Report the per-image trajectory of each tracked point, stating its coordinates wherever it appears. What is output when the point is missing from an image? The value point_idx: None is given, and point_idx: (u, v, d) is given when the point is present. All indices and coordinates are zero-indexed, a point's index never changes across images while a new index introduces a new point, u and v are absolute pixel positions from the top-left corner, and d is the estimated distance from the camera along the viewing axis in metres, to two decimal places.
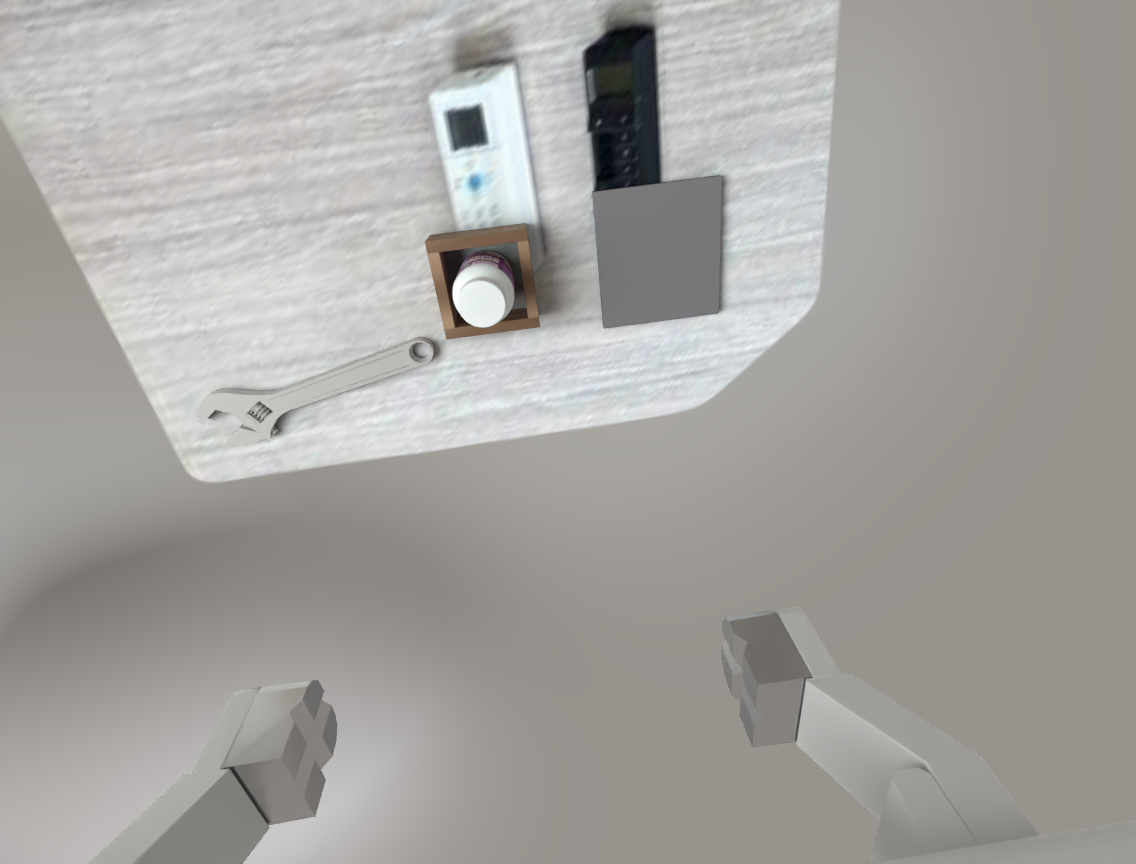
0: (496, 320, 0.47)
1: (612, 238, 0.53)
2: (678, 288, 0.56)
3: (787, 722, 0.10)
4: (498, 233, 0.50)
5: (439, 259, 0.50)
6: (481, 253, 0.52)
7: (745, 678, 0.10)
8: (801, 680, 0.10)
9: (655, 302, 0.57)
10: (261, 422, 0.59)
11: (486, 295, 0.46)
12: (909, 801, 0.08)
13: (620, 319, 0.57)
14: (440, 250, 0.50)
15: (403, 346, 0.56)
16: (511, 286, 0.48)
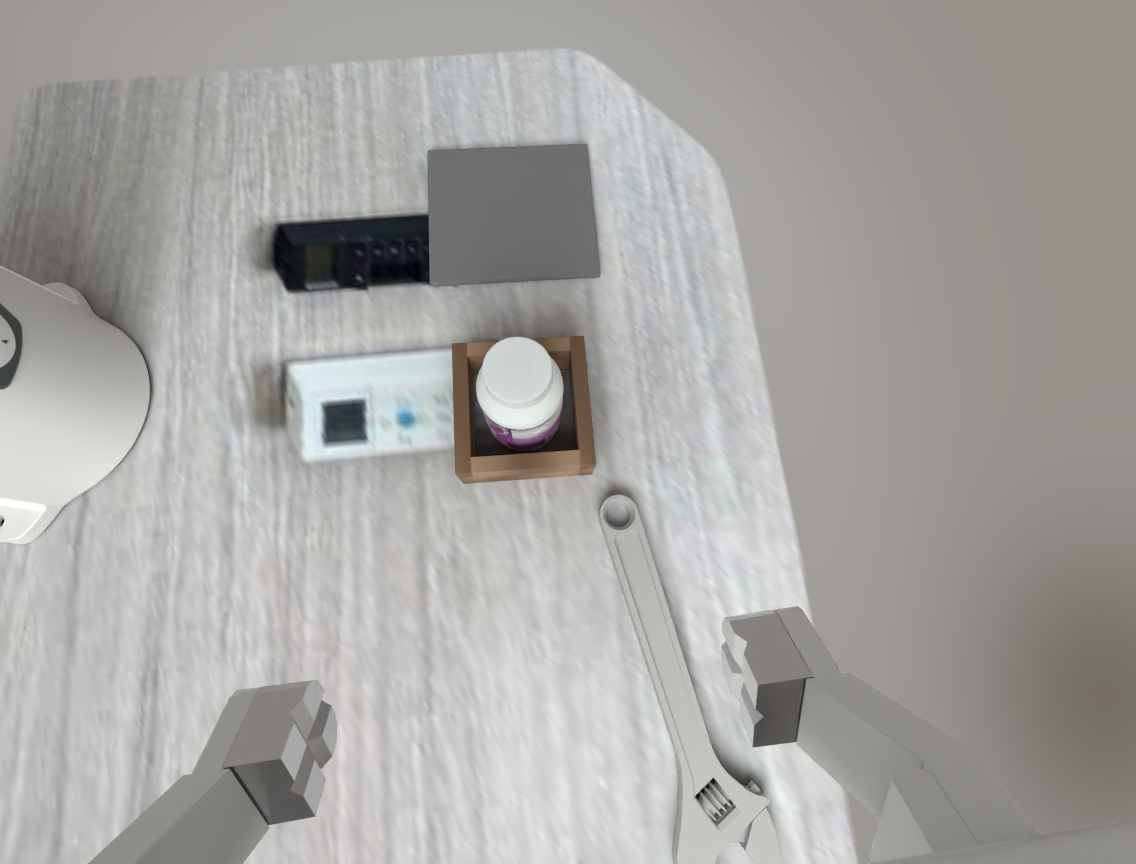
0: (541, 351, 0.32)
1: (485, 261, 0.43)
2: (552, 188, 0.45)
3: (787, 722, 0.10)
4: (454, 378, 0.37)
5: (480, 458, 0.36)
6: None
7: (745, 677, 0.10)
8: (801, 680, 0.10)
9: (568, 213, 0.45)
10: (735, 805, 0.34)
11: (503, 360, 0.31)
12: (909, 801, 0.08)
13: (588, 253, 0.44)
14: (468, 454, 0.36)
15: (608, 536, 0.38)
16: None
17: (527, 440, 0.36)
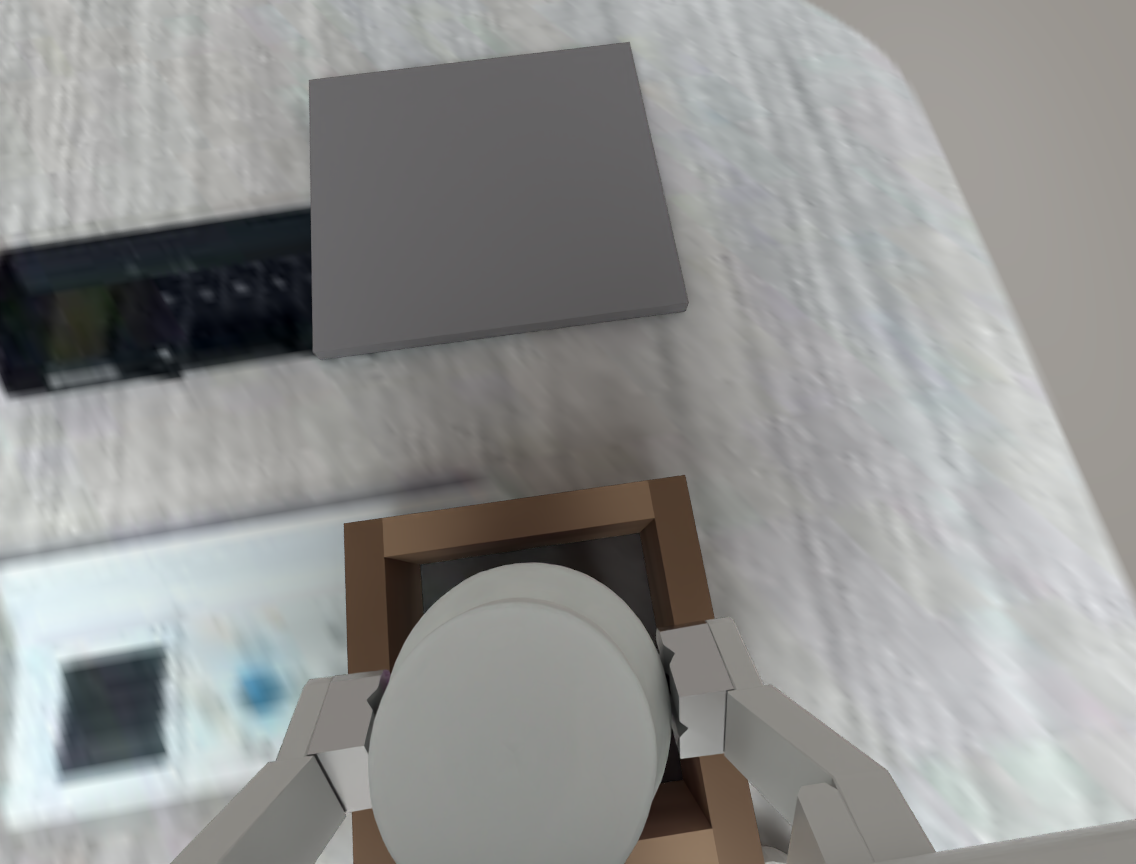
0: (605, 662, 0.08)
1: (434, 297, 0.20)
2: (568, 133, 0.22)
3: (712, 734, 0.10)
4: (350, 624, 0.14)
5: None
6: None
7: (671, 689, 0.10)
8: (723, 692, 0.09)
9: (606, 180, 0.21)
10: None
11: (455, 720, 0.08)
12: (811, 817, 0.08)
13: (657, 262, 0.20)
14: None
15: None
16: (483, 574, 0.11)
17: None
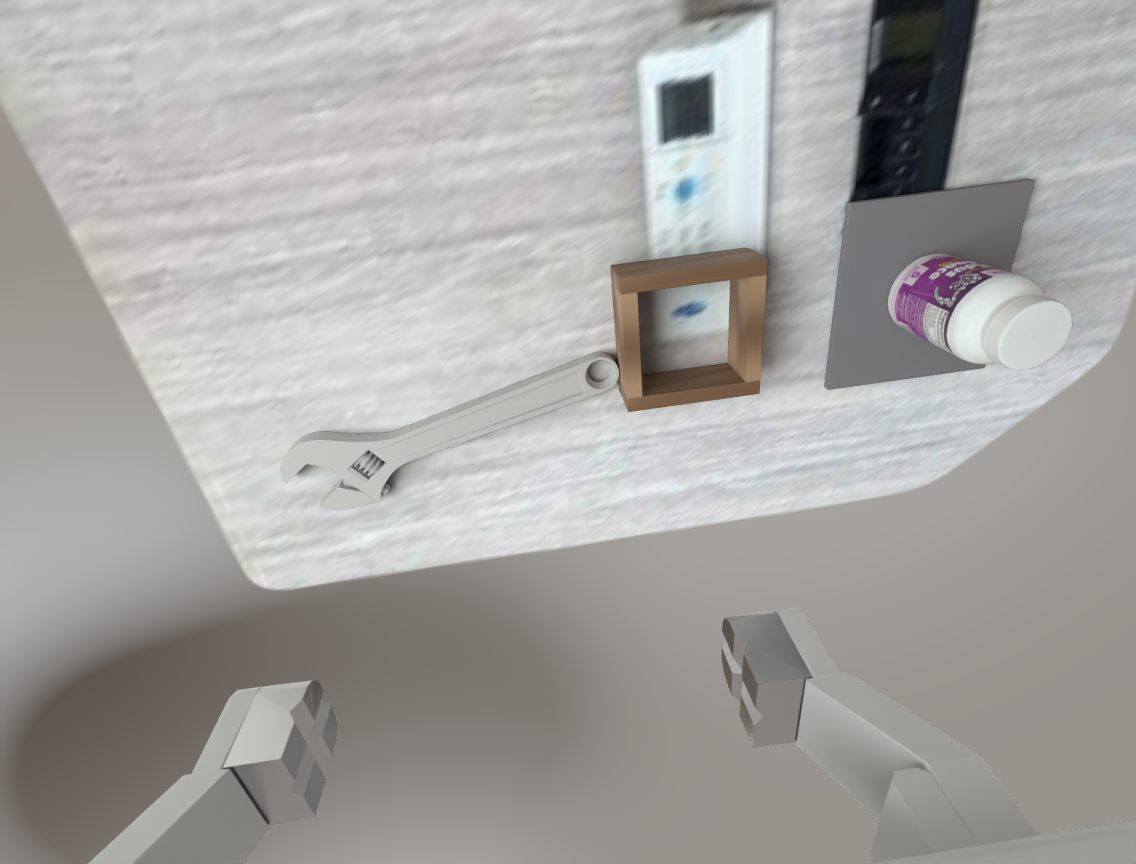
0: (1045, 359, 0.31)
1: (864, 268, 0.38)
2: None
3: (787, 722, 0.10)
4: (726, 265, 0.34)
5: (636, 302, 0.34)
6: (950, 257, 0.36)
7: (745, 677, 0.10)
8: (801, 680, 0.10)
9: (904, 354, 0.41)
10: (369, 478, 0.41)
11: (1049, 323, 0.30)
12: (909, 801, 0.08)
13: (852, 376, 0.41)
14: (640, 289, 0.34)
15: (578, 366, 0.39)
16: None
17: (917, 314, 0.36)
